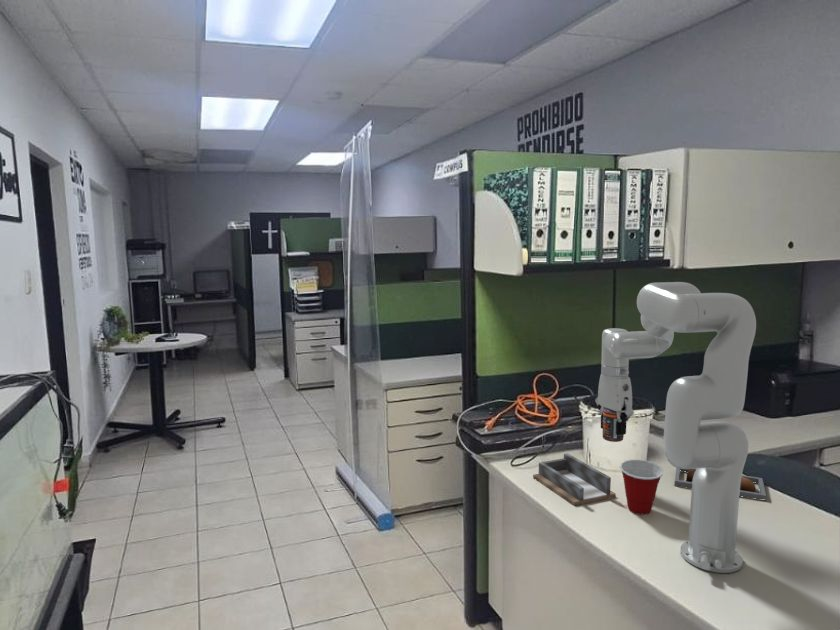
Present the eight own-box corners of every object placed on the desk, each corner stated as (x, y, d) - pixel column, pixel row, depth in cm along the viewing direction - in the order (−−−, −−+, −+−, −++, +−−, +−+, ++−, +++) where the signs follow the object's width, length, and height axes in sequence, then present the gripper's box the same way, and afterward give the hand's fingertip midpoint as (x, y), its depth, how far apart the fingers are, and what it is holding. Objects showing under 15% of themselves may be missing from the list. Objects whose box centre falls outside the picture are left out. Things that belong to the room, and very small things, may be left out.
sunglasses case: (756, 484, 172) (757, 469, 169) (755, 504, 168) (755, 489, 164) (689, 472, 182) (689, 457, 178) (686, 490, 177) (685, 476, 173)
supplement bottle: (598, 437, 176) (598, 400, 174) (614, 435, 178) (615, 398, 177) (611, 443, 170) (612, 405, 169) (627, 441, 172) (629, 403, 171)
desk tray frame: (765, 500, 162) (765, 495, 162) (674, 485, 172) (674, 480, 172) (761, 483, 173) (762, 478, 173) (676, 469, 183) (676, 465, 183)
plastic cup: (619, 517, 153) (621, 473, 151) (616, 499, 163) (618, 457, 162) (664, 521, 150) (667, 477, 149) (658, 503, 161) (660, 461, 159)
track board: (615, 496, 165) (616, 476, 164) (573, 505, 160) (574, 484, 159) (571, 470, 183) (572, 452, 182) (533, 477, 178) (533, 458, 177)
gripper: (646, 375, 165) (644, 438, 167) (605, 364, 181) (604, 421, 183) (625, 378, 162) (623, 441, 164) (585, 366, 178) (584, 424, 180)
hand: (613, 430), depth 174 cm, fingers closed on supplement bottle, 6 cm apart
